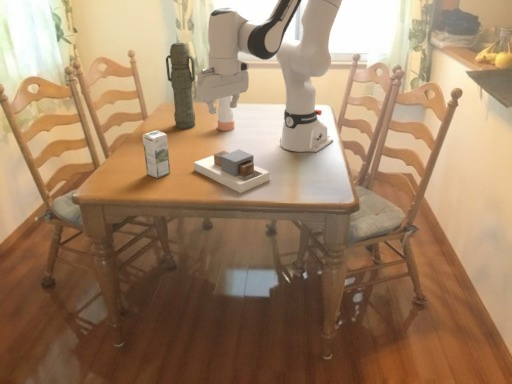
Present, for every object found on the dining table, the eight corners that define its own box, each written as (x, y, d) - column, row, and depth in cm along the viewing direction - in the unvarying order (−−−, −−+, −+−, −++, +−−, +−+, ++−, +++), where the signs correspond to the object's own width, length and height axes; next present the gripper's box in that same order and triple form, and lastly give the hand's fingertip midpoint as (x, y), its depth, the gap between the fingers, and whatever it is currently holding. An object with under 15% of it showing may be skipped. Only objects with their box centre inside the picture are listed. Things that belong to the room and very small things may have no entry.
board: (223, 159, 156) (222, 138, 152) (269, 180, 140) (269, 157, 137) (194, 170, 148) (192, 148, 144) (240, 193, 133) (239, 169, 129)
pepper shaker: (233, 130, 184) (232, 86, 175) (217, 130, 184) (214, 86, 175) (235, 125, 190) (233, 82, 181) (218, 125, 190) (216, 82, 181)
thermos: (197, 129, 186) (191, 45, 170) (170, 129, 186) (162, 45, 169) (200, 122, 194) (194, 42, 177) (174, 122, 194) (166, 42, 177)
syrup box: (160, 168, 149) (155, 129, 142) (171, 173, 146) (166, 133, 139) (146, 174, 145) (141, 134, 138) (158, 179, 142) (152, 138, 135)
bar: (224, 160, 148) (223, 150, 146) (253, 173, 138) (253, 163, 137) (214, 163, 145) (213, 154, 144) (243, 177, 136) (243, 167, 134)
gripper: (205, 72, 120) (206, 119, 127) (252, 63, 135) (251, 106, 141) (190, 68, 124) (192, 114, 130) (237, 60, 138) (237, 102, 144)
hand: (223, 110), depth 136 cm, fingers open, 8 cm apart
